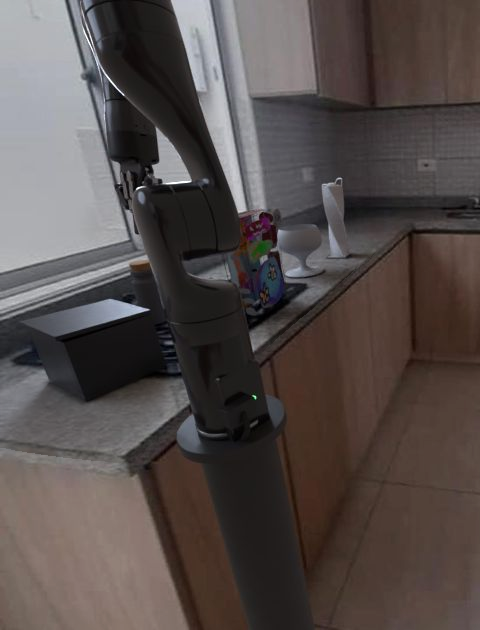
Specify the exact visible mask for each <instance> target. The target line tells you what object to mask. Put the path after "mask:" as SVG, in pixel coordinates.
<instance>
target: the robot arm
mask: <svg viewBox="0 0 480 630" xmlns="http://www.w3.org/2000/svg"><path fill="white" fill-rule="evenodd" d="M79 2H80V11H81V13H80V23H81V27H82V29H83V33H84V35H85V37H86V39H87V42H88V45H89V46H90V48H91V50H92V53H93V56H94V58H95V61H96V64H97V66H98V67H97V68H98V71H99V75H100V80H101V86H102V96H103V102H104V113H103V118H104V126H105V135H106V144H107V152H108V158H109V159H110V160H111V162H112V161H113V162H114V163H118V164H119V181H120V183H117V182H115V183H114V185H113V186H114V190H115V192H116V194H117V196H118V198H119V200H120V202H121V204H122V205H123V208H124V210H125V211H129V213H130V214H132V222H133V232H134V234H135V235H138V236H139V237H140V240H141V243H142V247H143V248H144V251H145V254H146V257H147V260H149V263H150V266H151V269H152V272H153V275H154V278H155V282H156V285H157V288H158V292H159V295H160V298H161V302H162V305H163V309H164V312H165V316H166V320H167V321H166V324H167V327H168V330H169V333H170V337H171V341H172V345H173V349H174V352H175V356H176V359H177V363H178V366H179V370H180V374H181V378H182V381H183V385H184V387H185V391H186V394H187V399H188V402H189V405H188V407H187V408H188V412H189V415H192V414H193V416H194V419H195V426H196V429H197V433H198V435H199V436H200V437H202V438H203V439H206V440H211V441H222V440H231V441H233V442H235V441H237V440H238V439H240V438H241V440H242V441H246V440H247V438H248V436H249V434H250V432H251V431H252V430H254V429H255V428H257V427H258V426H260V425H261V424H263V423H265V422H266V421H268V420H269V419H270V415H269V410H268V405H267V400H266V395H267V394H266V389H265V385H264V381H263V376H262V372H261V366H260V363H259V360H257V359H255V355H254V350H253V345H252V341H251V336H250V335H251V334H250V330H249V325H248V319H247V318H246V317H247V316H246V310H245V308H244V306H243V301H242V296H241V292H240V289H239V287H238V286H237V285H236V284H235V283H233V282H231V280H228V279H221V278H220V279H219V278H210V277H202V276H198V275H195V274H191V273H190V272H188V271H187V269H186V267H185V262H191V261H197V260H202V259H206V258H212V257H215V256H216V257H217V256H223V254H224V255H226V254H227V253H231V252H234V251H236V250H237V249H238V248H239V246H240V243H241V236H242V232H241V224H240V219H239V215H240V214H239V212H238V207H237V204H236V202H235V199H234V196H233V193H232V190H231V188H230V185H229V181H228V179H227V177H226V174H225V171H224V168H223V166H222V163H221V160H220V158H219V155H218V153H217V150H216V147H215V144H214V142H213V139H212V136H211V134H210V130H209V127H208V124H207V122H206V118H205V115H204V111H203V109H202V105H201V102H200V97H199V94H198V90H197V87H196V83H195V80H194V76H193V72H192V68H191V64H190V60H189V57H188V56H189V55H188V52H187V48H186V45H185V42H184V38H183V35H182V32H181V28H180V24H179V21H178V18H177V15H176V12H175V11H176V10H175V8H174V5H173V3H172V0H79ZM157 130H158V131H159V132H160V133H161V134H162V135H163V136H164V137H165V139H166V140H167V141H168V142H169V143H170V144H171V146H172V147H173V149H174V150H175V151H176V153H177V155H178V156H179V158H180V160H181V161H182V163H183V165H184V166H185V169H186V171H187V173H188V175H189V177H190V181H178V182H177V181H176V182H167V183H163V179H162V178H160V177H159V178H158V177H156V176H155V171H154V167H153V165H154V166H155V165H158V164H159V163H160V152H159V142H158V141H159V140H158V132H157ZM246 319H247V320H246Z"/></svg>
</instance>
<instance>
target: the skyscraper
mask: <svg viewBox="0 0 480 630" xmlns="http://www.w3.org/2000/svg"><path fill="white" fill-rule="evenodd" d="M338 180H340V184H337V181H338ZM321 194H322V195H321V196H322V202H323V208H324V212H325V216H326V220H327V224H328V243H329V252H330V254H329V255H328V256H327V257H326V259H327V260H337V259H338V260H339V259H347V257H349V256H350V255H351V252H350V249H349V242H348V235H347V228H346V225H345V221H344V219H345V218H344V217H345V199H344V198H345V197H344V188H343V178H342V177H337V178H336V179H335V180H334V182H327V183H322V184H321Z"/></svg>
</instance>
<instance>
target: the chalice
mask: <svg viewBox="0 0 480 630" xmlns="http://www.w3.org/2000/svg"><path fill="white" fill-rule="evenodd" d="M277 230H278V231H277V237H278V238H277V240H278V242H279V240H280V242H279V244H278V243H277V247H278V248H279V247H280V246H281V248H280V249H279V251H280V252H282V253H285V254H288V255H290V256H292V257H294V258H296V259H297V260H298V261H299V267H295V268H292V269H289V270H287V271H286V272H285V273H284V275H285V277H290V278H306V277H307V278H308V277H312V276H316V275H318V274H320V273H323V271H324V269H323V268H322V267H320V266H311V265H310V266H309V265H308V264H307V259H308V258H309V256H310V255H311V254H313V253H314V252H316V251H317V250H318V249H320V247H321V245H322V243H323V237H322V234H321V231H320V228H319V227H318V226H317V225H316V224H312V223H300V224H299V223H298V224H290V225H285V226H281V227H279V228H278V229H277ZM278 234H279V236H278Z"/></svg>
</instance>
